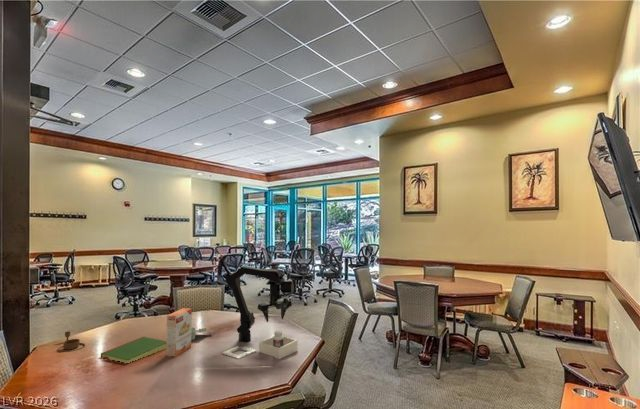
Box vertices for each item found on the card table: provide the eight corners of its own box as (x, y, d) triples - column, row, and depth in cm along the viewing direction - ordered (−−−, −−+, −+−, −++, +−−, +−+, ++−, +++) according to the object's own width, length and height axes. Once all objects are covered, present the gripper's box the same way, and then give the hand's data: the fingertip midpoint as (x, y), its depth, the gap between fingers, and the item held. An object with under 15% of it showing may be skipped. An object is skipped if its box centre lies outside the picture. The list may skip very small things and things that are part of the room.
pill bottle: (275, 353, 173) (275, 334, 173) (271, 350, 178) (271, 331, 178) (285, 351, 176) (285, 332, 176) (281, 348, 180) (281, 329, 181)
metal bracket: (204, 329, 194) (179, 327, 196) (203, 340, 192) (178, 338, 194) (215, 328, 207) (192, 326, 209) (213, 338, 206) (190, 337, 208)
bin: (259, 353, 175) (259, 342, 175) (277, 344, 187) (277, 334, 187) (279, 360, 167) (279, 348, 167) (297, 350, 178) (297, 340, 178)
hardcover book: (143, 343, 190) (143, 336, 190) (168, 348, 183) (168, 341, 183) (99, 361, 167) (99, 353, 167) (125, 368, 160) (125, 360, 160)
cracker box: (176, 358, 170) (176, 316, 170) (165, 357, 171) (165, 315, 171) (192, 347, 183) (192, 308, 184) (182, 346, 184) (182, 307, 185)
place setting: (45, 356, 172) (45, 345, 172) (64, 342, 192) (64, 331, 192) (85, 353, 177) (85, 342, 177) (99, 339, 196) (99, 329, 196)
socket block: (222, 355, 172) (222, 352, 172) (240, 348, 182) (240, 344, 182) (238, 362, 165) (238, 358, 165) (256, 353, 175) (256, 350, 175)
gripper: (265, 297, 179) (265, 327, 179) (296, 293, 189) (296, 321, 189) (257, 293, 188) (257, 322, 188) (287, 289, 199) (287, 316, 198)
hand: (274, 320), depth 191 cm, fingers open, 9 cm apart
